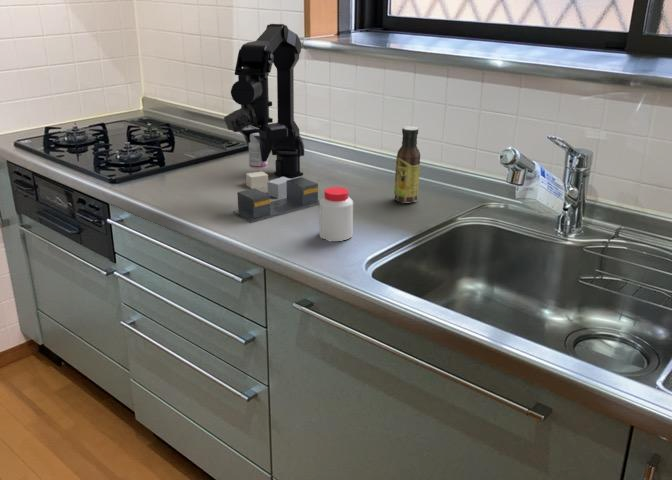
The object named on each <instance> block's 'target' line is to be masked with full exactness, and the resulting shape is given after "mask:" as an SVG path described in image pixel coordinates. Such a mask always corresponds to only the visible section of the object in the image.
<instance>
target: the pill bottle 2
mask: <svg viewBox="0 0 672 480" xmlns="http://www.w3.org/2000/svg"><path fill="white" fill-rule="evenodd" d="M349 194H350V193H349V189H348V188H345V187H341V186H340V187H339V186H334V187H333V186H332V187H328V188H325V189H324V196H323V197H322V198H320V199H319V200H320V204H319V237H320V238H321V239H322V238H323V239H326V240H331V241H341V240H346V239H349V238H350V237H352V238H353V236H352V235H354V234H353V232H354V231H353V230H354V229H353V228H354V201H353V199H352V198H351V197H350V196H349ZM323 239H322V240H323ZM326 240H325V241H326ZM349 240H350V239H349ZM331 241H330V242H331Z"/></svg>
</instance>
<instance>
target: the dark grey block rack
mask: <svg viewBox="0 0 672 480" xmlns="http://www.w3.org/2000/svg"><path fill="white" fill-rule="evenodd" d="M290 179H291V180H287V181H286V187H287V196H286V197H285V198H280V199H276V200H274V201H273V200H272V201H271V196H270V195H268V193H266V192H263V191H261V190H260V189H258V188H253V189H251V188H249V189H245V190H241V191H237V210H234V211H233V214H234V215H236V216H238V217H240V218H241V219H244V220H246V221H248V222H249V223H251V224H252V223H255V222H258V221H259V222H260V221H262V220H267V219H270V218H271V219H272V218H273V217H278V216H281V214H282V215H284V214H285V213H286V214H289V213H292V212H295V211H296V210H297V211H301V210H304V209H308V208H311V206H312V207H315V206H320V200H321V199H319V184H318V182H315V181H313V180H310V179H308V178H305V177H303V176H302V177H300V176H299V177H297V178H290Z"/></svg>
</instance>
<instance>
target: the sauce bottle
mask: <svg viewBox="0 0 672 480" xmlns="http://www.w3.org/2000/svg"><path fill="white" fill-rule="evenodd" d="M401 132H402V133H401V134H402V141H401V147H400V148H398V150H397V153H396V160H395V161H396V162H395V174H394V175H395V176H394V190H393V191H394V200H395V201H396V200H397V201H396V202H398V201H400V202H413V201H415V200H418V195H419V185H420V184H419V182H420V170H421V152H420V150H419V148H418V146H417V145H418V134H419V127H417V126H412V125H411V126H410V125H407V126H406V125H405V126H403V127H402V128H401ZM400 202H399V203H400Z"/></svg>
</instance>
